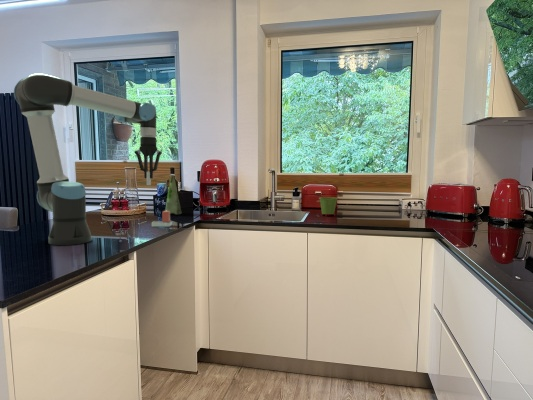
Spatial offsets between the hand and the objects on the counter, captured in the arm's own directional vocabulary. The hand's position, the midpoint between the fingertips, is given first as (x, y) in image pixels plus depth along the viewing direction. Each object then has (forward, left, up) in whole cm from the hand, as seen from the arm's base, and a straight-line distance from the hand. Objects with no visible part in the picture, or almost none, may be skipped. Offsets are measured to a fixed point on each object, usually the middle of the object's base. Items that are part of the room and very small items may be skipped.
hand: (148, 185), depth 189 cm
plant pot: (+38, -100, -21) cm, 109 cm away
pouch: (+45, -5, -21) cm, 50 cm away
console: (+1, -6, -21) cm, 21 cm away
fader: (+1, -8, -18) cm, 20 cm away
